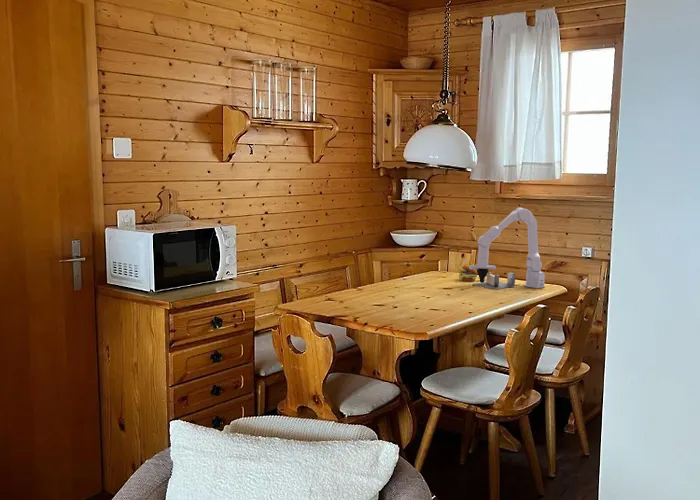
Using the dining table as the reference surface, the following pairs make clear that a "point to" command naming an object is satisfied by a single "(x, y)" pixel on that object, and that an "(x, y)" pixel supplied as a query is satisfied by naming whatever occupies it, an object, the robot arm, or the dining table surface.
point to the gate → (490, 278)
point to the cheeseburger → (468, 274)
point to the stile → (511, 279)
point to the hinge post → (496, 281)
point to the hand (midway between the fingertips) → (481, 282)
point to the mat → (501, 286)
